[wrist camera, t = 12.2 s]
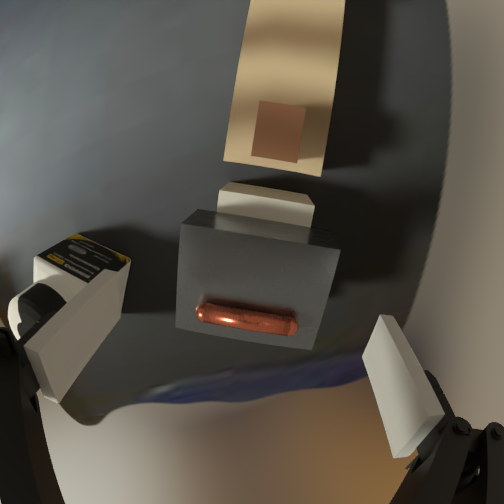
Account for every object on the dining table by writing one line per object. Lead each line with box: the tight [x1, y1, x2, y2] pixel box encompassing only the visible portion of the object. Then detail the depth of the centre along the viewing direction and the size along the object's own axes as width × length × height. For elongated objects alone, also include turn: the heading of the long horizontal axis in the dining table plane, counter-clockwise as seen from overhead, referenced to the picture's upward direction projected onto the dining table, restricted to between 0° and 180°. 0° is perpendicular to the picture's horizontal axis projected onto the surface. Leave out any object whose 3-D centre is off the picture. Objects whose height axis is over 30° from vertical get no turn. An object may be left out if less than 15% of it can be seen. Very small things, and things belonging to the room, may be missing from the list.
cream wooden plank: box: [223, 0, 345, 177], centre depth 16 cm, size 20×6×9 cm, turn 171°
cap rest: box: [217, 182, 315, 227], centre depth 24 cm, size 10×6×5 cm, turn 171°
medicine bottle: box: [8, 234, 131, 340], centre depth 23 cm, size 7×7×12 cm
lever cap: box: [176, 209, 341, 350], centre depth 19 cm, size 7×9×5 cm
